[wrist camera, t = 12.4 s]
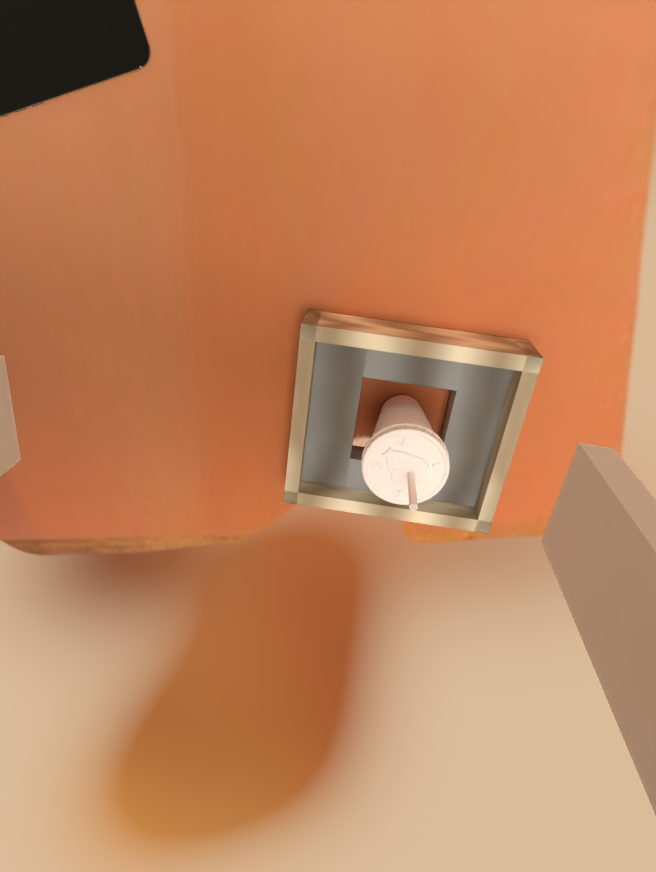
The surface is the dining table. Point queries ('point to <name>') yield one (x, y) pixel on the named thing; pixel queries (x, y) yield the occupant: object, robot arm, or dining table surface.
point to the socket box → (419, 365)
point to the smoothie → (404, 455)
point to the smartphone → (65, 47)
